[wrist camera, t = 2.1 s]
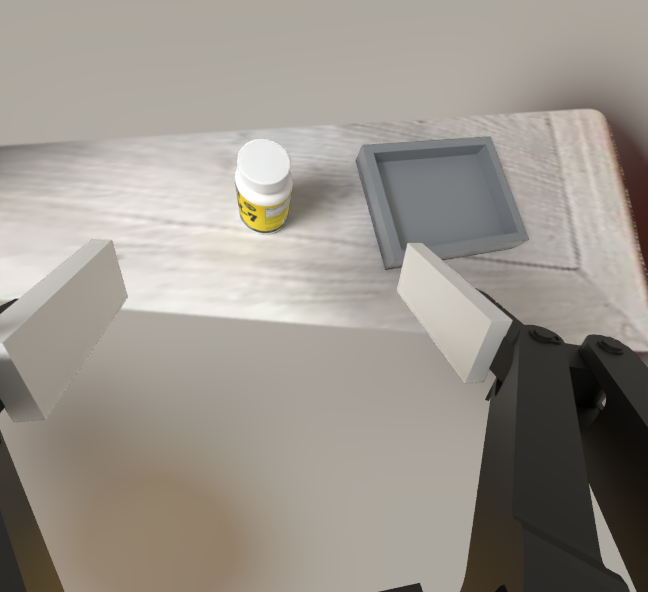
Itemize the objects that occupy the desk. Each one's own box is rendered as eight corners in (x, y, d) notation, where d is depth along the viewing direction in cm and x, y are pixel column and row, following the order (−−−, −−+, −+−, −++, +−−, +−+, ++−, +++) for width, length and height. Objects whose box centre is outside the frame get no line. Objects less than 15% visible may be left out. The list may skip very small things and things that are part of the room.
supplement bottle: (230, 203, 31) (219, 145, 23) (272, 186, 33) (276, 124, 25) (254, 243, 31) (251, 198, 23) (296, 224, 32) (307, 174, 24)
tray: (385, 269, 33) (395, 261, 30) (355, 160, 35) (362, 145, 33) (511, 248, 36) (529, 239, 34) (476, 151, 39) (490, 136, 36)
